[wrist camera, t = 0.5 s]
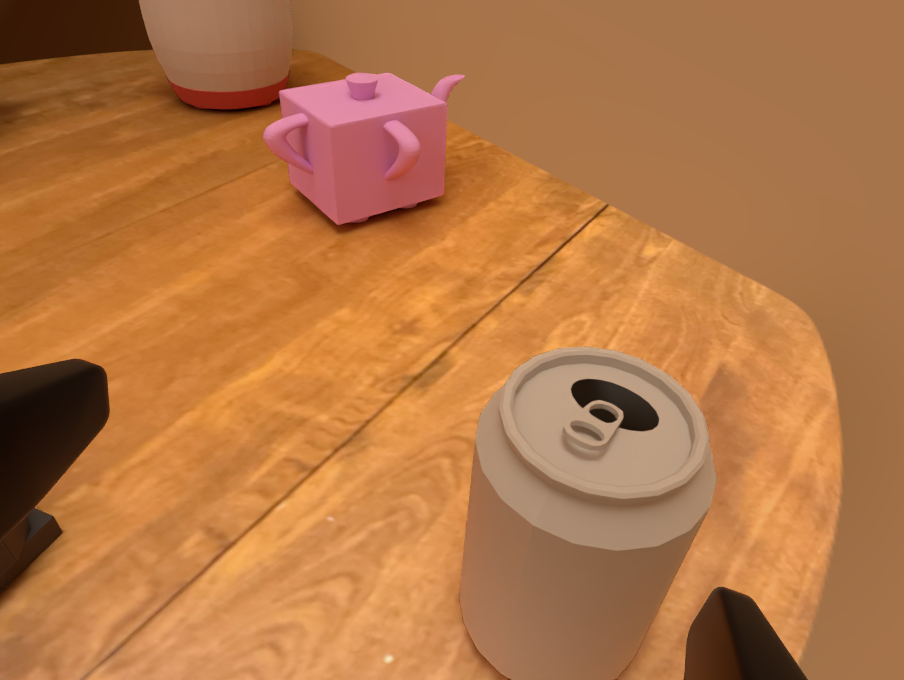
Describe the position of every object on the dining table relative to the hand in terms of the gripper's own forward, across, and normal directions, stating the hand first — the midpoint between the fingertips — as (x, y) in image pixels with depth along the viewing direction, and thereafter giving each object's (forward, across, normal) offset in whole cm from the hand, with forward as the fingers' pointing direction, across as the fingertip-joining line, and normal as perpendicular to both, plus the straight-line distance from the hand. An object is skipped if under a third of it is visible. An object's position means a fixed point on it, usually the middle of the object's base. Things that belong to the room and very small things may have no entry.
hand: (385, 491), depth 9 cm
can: (+12, -5, +16) cm, 21 cm away
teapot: (+44, +16, +12) cm, 48 cm away
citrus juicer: (+61, +41, +11) cm, 74 cm away
